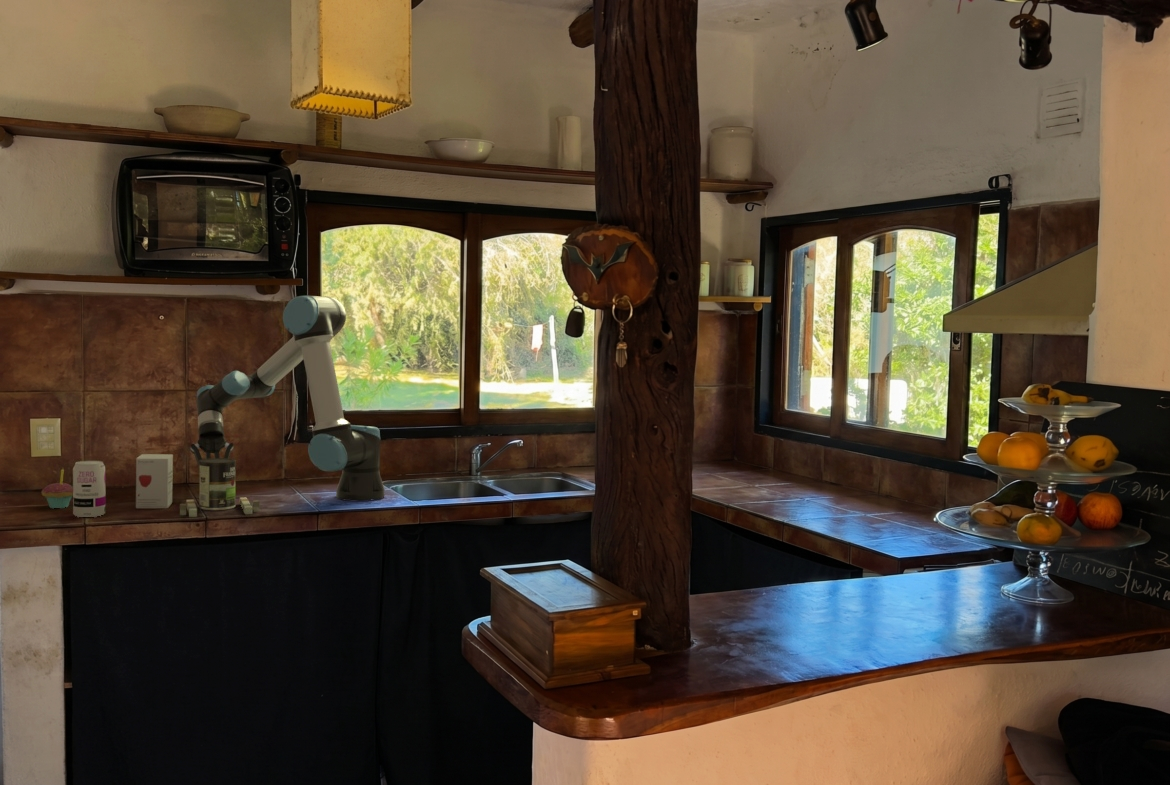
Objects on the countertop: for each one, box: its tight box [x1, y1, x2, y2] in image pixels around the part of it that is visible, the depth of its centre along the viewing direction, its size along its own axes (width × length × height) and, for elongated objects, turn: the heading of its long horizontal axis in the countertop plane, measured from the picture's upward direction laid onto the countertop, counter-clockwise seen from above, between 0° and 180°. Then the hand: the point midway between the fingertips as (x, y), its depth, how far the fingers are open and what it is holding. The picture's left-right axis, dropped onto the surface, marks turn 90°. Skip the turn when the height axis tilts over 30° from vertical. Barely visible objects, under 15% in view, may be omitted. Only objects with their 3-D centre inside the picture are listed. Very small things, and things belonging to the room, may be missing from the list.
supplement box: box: [135, 453, 174, 509], centre depth 303 cm, size 9×9×15 cm
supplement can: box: [72, 460, 107, 518], centre depth 287 cm, size 8×8×15 cm
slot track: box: [179, 496, 260, 518], centre depth 300 cm, size 16×22×3 cm
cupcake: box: [41, 468, 73, 509], centre depth 297 cm, size 9×8×12 cm
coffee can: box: [198, 457, 237, 511], centre depth 304 cm, size 10×10×14 cm
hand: (214, 489), depth 311 cm, fingers closed
